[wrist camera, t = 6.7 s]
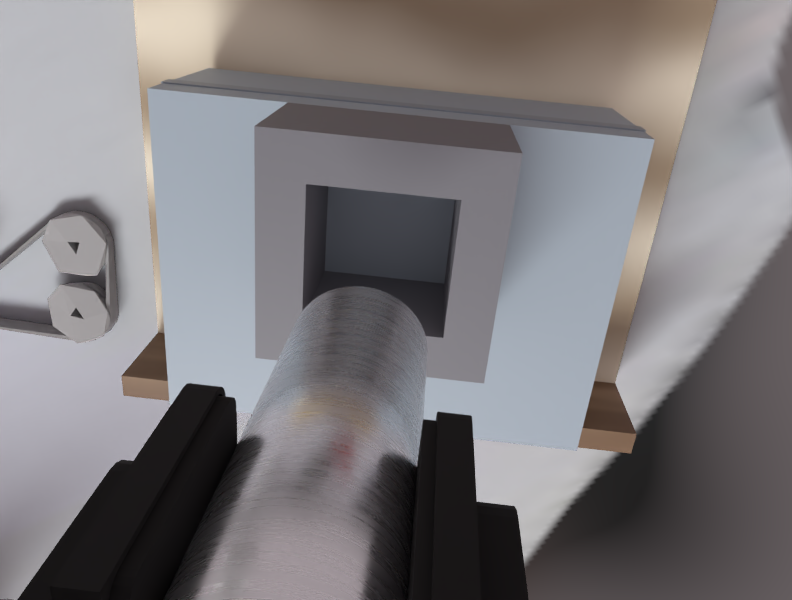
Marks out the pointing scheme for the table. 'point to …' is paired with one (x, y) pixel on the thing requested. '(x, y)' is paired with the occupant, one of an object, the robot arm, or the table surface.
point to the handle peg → (322, 464)
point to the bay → (461, 73)
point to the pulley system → (75, 302)
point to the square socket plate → (396, 234)
